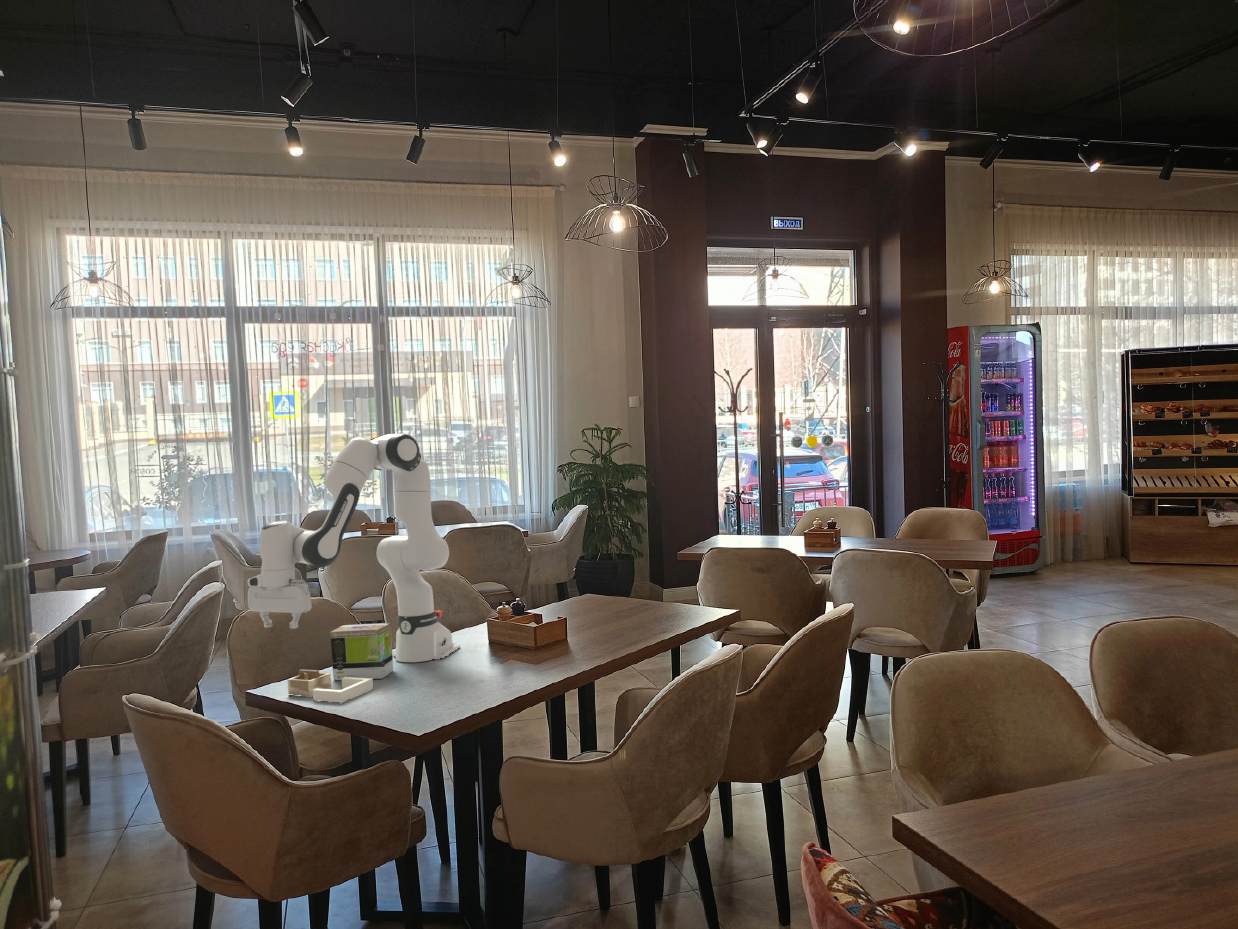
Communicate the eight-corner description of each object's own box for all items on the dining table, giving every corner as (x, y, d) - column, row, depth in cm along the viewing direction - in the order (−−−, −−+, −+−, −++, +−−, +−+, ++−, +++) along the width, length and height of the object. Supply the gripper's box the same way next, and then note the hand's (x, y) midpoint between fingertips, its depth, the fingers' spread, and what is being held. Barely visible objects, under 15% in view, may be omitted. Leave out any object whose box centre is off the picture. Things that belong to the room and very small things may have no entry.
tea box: (394, 670, 261) (391, 622, 261) (381, 680, 251) (378, 629, 251) (346, 671, 262) (343, 623, 262) (332, 681, 252) (329, 631, 252)
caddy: (309, 687, 247) (307, 665, 247) (331, 689, 244) (330, 667, 244) (288, 695, 239) (287, 673, 239) (311, 697, 236) (309, 675, 236)
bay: (345, 687, 245) (345, 676, 245) (373, 689, 241) (372, 678, 241) (313, 701, 233) (312, 690, 233) (341, 703, 229) (341, 692, 229)
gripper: (315, 577, 243) (317, 626, 243) (259, 576, 251) (262, 624, 251) (299, 581, 237) (301, 631, 237) (242, 580, 245) (245, 628, 245)
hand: (281, 627), depth 244 cm, fingers open, 8 cm apart
